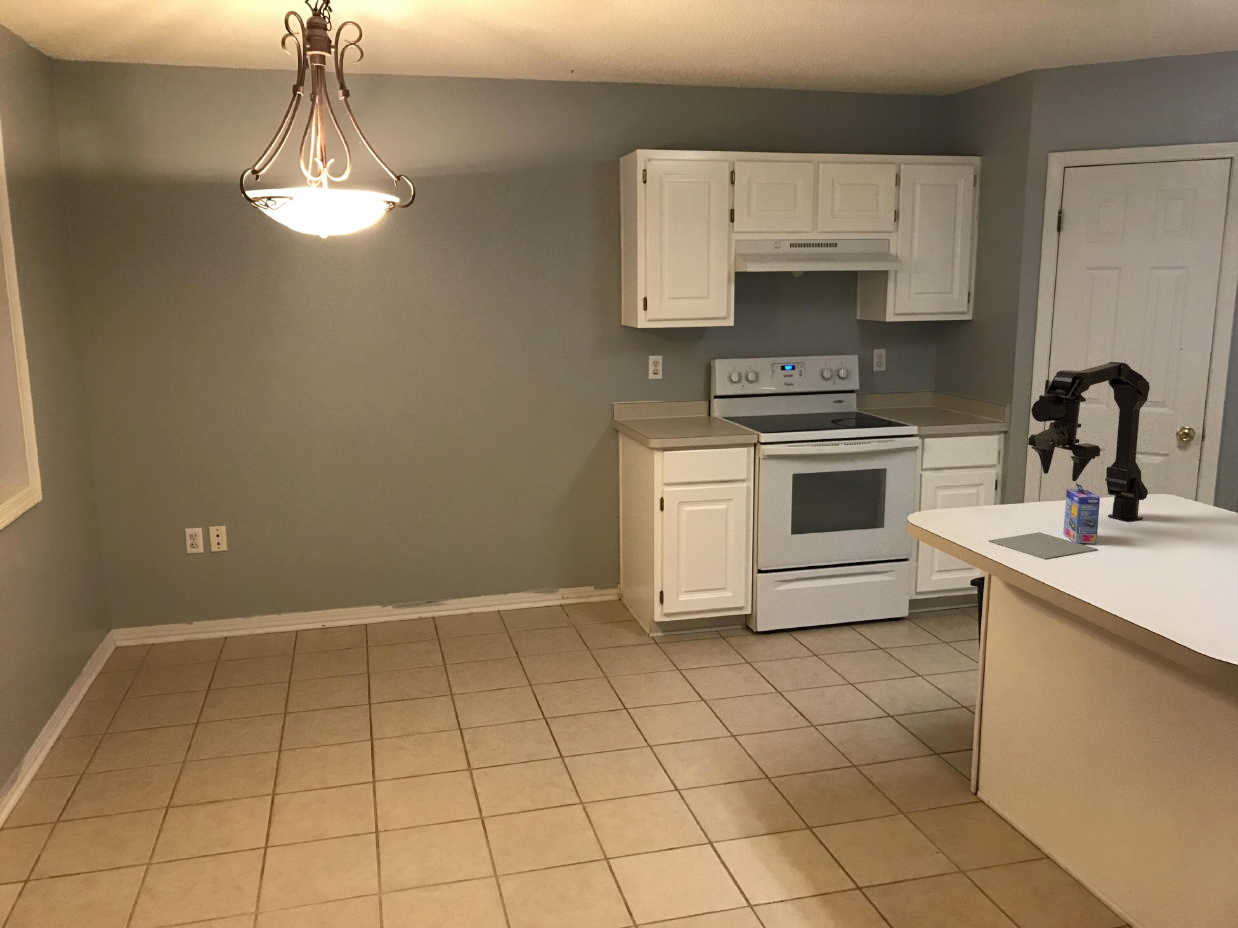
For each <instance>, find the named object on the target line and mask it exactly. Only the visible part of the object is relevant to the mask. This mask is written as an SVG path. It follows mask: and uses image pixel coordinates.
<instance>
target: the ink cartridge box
mask: <svg viewBox="0 0 1238 928" xmlns="http://www.w3.org/2000/svg"><path fill="white" fill-rule="evenodd" d="M1075 485H1076V488H1077V489H1075V488H1068V489H1066V496H1065V508H1064V520H1063V532H1062V534H1063V535H1064V536H1066V537H1067V538H1069V539H1070V541H1072V542H1075V543H1079V544H1095V545H1096V544H1097V543H1098V530H1099V520H1100V519H1099V516H1100V503H1101V497H1100V496H1099V495H1097V494H1095V493H1093V492H1092V491H1090V490H1088V489H1084V488H1083V486H1082V485H1081V484H1080V483H1077V482H1075Z"/></svg>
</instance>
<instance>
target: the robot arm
mask: <svg viewBox="0 0 1238 928" xmlns="http://www.w3.org/2000/svg"><path fill="white" fill-rule="evenodd" d="M1105 382H1107V383H1108V385H1109V386H1110V387H1111V388H1112V390H1113V400H1114V401H1115V404H1116V405H1117V408H1118V409H1119V410H1118V411H1119V412H1118V425H1117V436H1116V437H1117V438H1116V449H1115V450H1116V451H1115V460H1114V462H1113V463H1112V464H1111V465H1110V466H1107V467H1106V469H1105V470H1106V471H1105V472H1106V473H1105V474H1106V476H1105V482H1106V483H1105V484H1106V488H1107V494H1108V495H1110V496H1114V498H1113V503H1112V513H1111V514H1107V518H1108V517H1109V518H1113V519H1117V520H1120V521H1124V522H1132V521H1138V520H1143V518H1144V517H1143V516H1139V508H1140V501H1144V500H1146V499H1147V497H1148V494H1149V490H1148V489H1147V487H1146V486H1145V484H1144V482H1143V481H1142V470H1141V469H1140V467H1139V465H1138V463H1137V460H1136V459H1137V450H1138V436H1139V424H1140V411H1141V409H1142V407H1143V406H1144V405H1145V404H1146V403H1147V401H1148V398H1149V393H1150V388H1151V387H1150V382H1149V381H1148V380H1147V379H1146V378H1145V377H1144V376H1143V375H1142V374H1141V373H1139V372H1138V371H1135V369H1132V368H1131V366H1130V365H1129V364H1128V363H1126V362H1122V361H1121V362H1120V361H1110V362H1106V363H1105V364H1101V365H1098V366H1093V367H1089V368H1087V369H1081V370H1071V369H1070V370H1067V369H1066V370H1059V371H1057V372H1056V373H1055V375H1054V377H1053V379H1052V380H1051V382H1050V384H1049V385H1048V387H1047V389H1046V391H1044V394H1040V395H1039V396H1038V397H1039V398H1038V400H1036V401H1035V402H1034V403H1033V405H1032V407H1031V416H1032V418H1033V419H1034V420H1035V421H1037V422H1038V423H1042V422H1043V423H1045V422H1050V423H1049V425H1048V426H1049V427H1048V429H1044V430H1042V431H1041V432H1038V433H1034V434H1031V435H1030V436H1029V437H1028V440H1027V445H1028V446H1031V447H1030V448H1031V449H1032V450H1034V451H1035V452H1036V453H1037V454H1038V456H1039V460H1040V464H1041V468H1042V472H1043V473H1044V474H1046V475H1047V474H1049V472H1050V468H1051V466H1052V465H1051V464H1052V461H1053V456H1054V453H1055V448H1058V449H1062V450H1067V451H1071V454H1073V455H1071V456H1070V459H1071V460H1072V474H1071V480H1072V482H1077V480H1078V479H1079V477H1080V475H1081V474H1082V473H1083V472H1084V470H1085V468H1086V467H1087V466H1088V464H1089V463H1090V462H1091V461H1092V460H1094V459H1096V457H1100V456H1101V448H1100V446H1099V445H1098V444H1092V443H1088V442H1085V443H1080V438H1077V434H1078V429H1081V428H1082V423H1079V419H1080V418H1079V417H1080V408H1081V403H1083V402H1087V399H1086V397H1084V396H1083V393H1085V392H1086V391H1088V390H1089V389H1090V387H1091V386H1094V385H1097V384H1101V383H1105Z"/></svg>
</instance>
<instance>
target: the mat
mask: <svg viewBox="0 0 1238 928" xmlns="http://www.w3.org/2000/svg"><path fill="white" fill-rule="evenodd" d="M988 542H989V543H992V542H993V543H992V544H995V543H996V545H998V544H1000V545H999V546H1001V545H1002V546H1001V547H1004V546H1006V547H1005V548H1008V549H1011V550H1015V551H1017V552H1020V551H1021V553H1024V554H1026V553H1027V554H1026V555H1030V556H1033V557H1037V558H1040V559H1043V560H1049V559H1050V560H1051V559H1055V558H1060V557H1066V556H1067V557H1068V556H1073V555H1078V554H1083V553H1089V552H1096V551H1098V550H1099V549H1098V548H1097V547H1093V546H1089V545H1085V544H1083V543H1075V542H1074V541H1072V540H1068V539H1064V538H1062V537H1057V536H1054V535H1051V534H1047V533H1044V532H1041V531H1039V532H1032V533H1026V534H1020V535H1014V536H1008V537H1001V538H995V539H989V540H988Z"/></svg>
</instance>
